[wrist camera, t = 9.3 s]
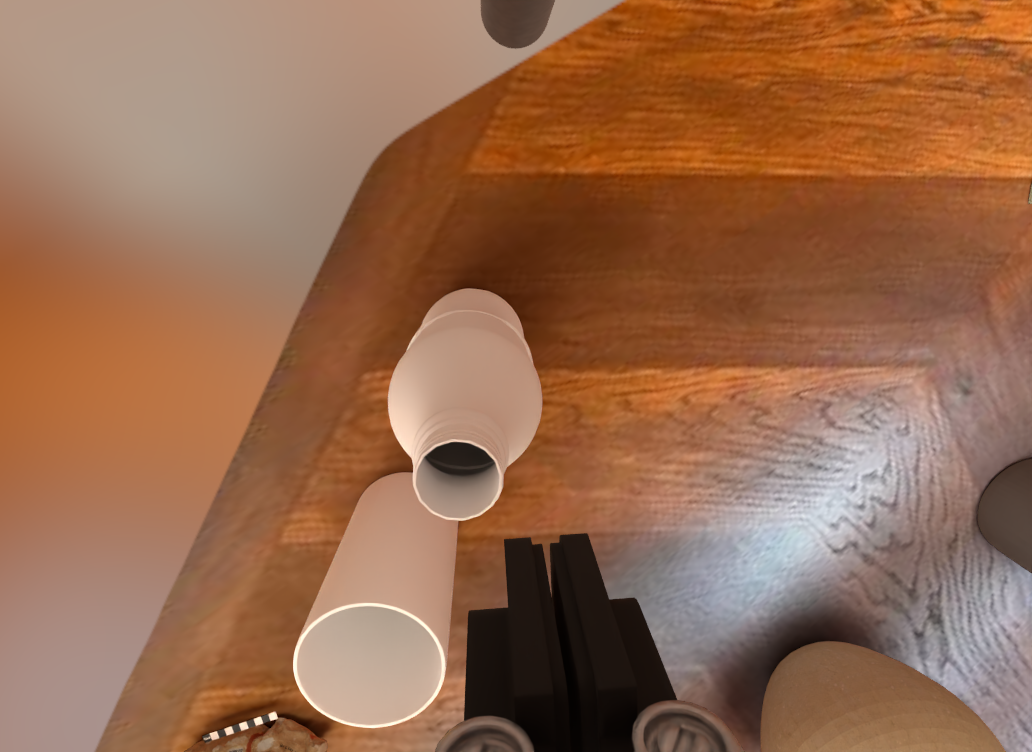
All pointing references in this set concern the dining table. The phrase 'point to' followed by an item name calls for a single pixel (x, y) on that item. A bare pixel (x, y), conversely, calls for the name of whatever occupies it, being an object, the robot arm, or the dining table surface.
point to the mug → (1009, 513)
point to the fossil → (262, 737)
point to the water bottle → (465, 402)
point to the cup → (381, 612)
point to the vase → (863, 706)
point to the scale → (1030, 196)
